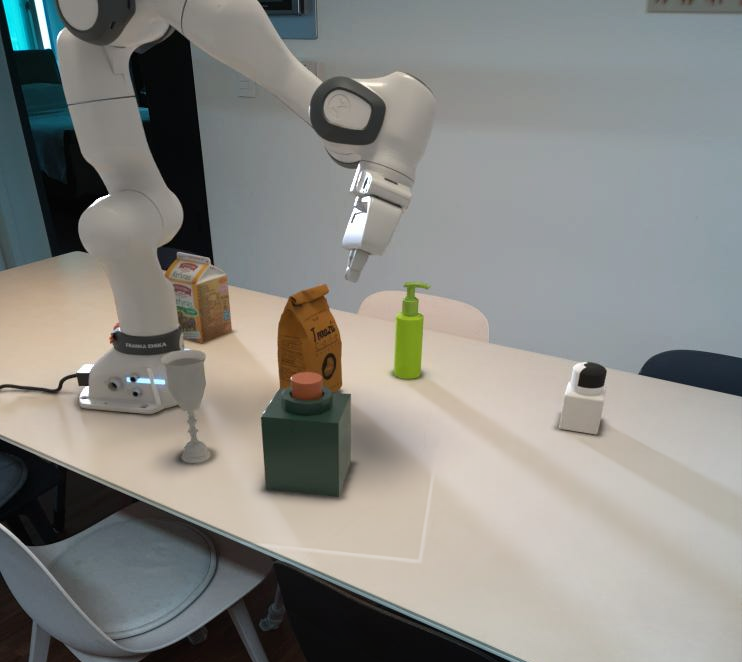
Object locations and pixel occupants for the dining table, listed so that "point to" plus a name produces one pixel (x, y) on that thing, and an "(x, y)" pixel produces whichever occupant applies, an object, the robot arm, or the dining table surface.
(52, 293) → the dining table surface
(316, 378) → the red push button
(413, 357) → the soap dispenser
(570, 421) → the medicine bottle
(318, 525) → the dining table surface
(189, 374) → the chalice
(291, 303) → the coffee package
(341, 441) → the push button housing
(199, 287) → the milk carton
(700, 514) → the dining table surface
